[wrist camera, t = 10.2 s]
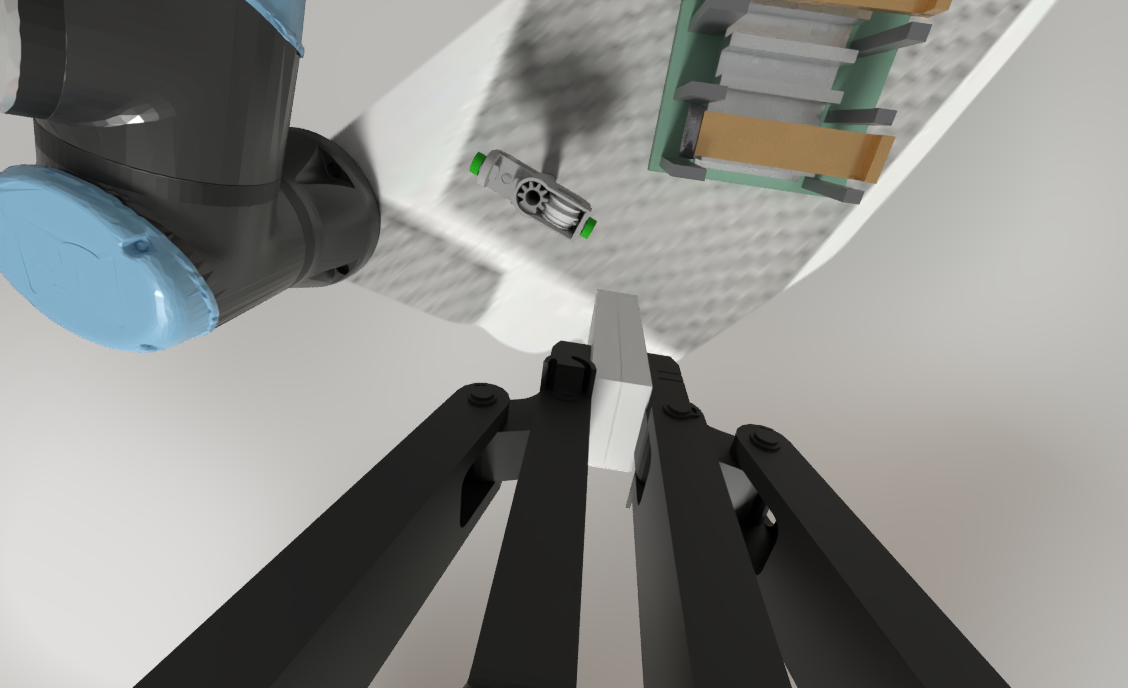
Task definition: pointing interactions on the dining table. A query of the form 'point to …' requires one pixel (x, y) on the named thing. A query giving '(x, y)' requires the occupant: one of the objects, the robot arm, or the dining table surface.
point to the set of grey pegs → (732, 3)
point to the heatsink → (782, 68)
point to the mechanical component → (534, 194)
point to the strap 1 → (889, 6)
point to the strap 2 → (784, 145)
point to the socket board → (697, 63)
